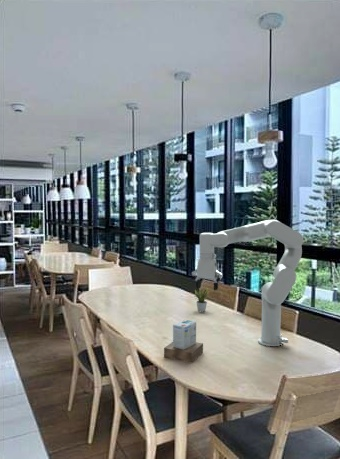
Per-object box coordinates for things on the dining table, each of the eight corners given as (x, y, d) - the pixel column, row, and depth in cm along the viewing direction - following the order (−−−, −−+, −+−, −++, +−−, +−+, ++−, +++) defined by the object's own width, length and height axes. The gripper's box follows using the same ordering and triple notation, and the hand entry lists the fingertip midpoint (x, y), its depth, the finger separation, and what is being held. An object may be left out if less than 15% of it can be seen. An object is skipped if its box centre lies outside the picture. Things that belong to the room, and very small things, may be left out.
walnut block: (203, 353, 185) (203, 343, 185) (191, 363, 173) (191, 353, 173) (176, 348, 191) (176, 338, 191) (164, 358, 179) (164, 347, 179)
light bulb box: (184, 340, 188) (185, 319, 188) (196, 343, 184) (197, 321, 184) (172, 347, 180) (172, 324, 179) (184, 350, 176) (184, 326, 175)
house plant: (213, 308, 269) (214, 285, 268) (214, 313, 255) (214, 289, 255) (193, 307, 270) (193, 284, 270) (192, 313, 257) (192, 288, 256)
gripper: (225, 256, 199) (225, 289, 200) (195, 254, 208) (195, 286, 209) (219, 258, 193) (219, 292, 194) (188, 256, 201) (188, 288, 202)
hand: (206, 289), depth 201 cm, fingers open, 9 cm apart
